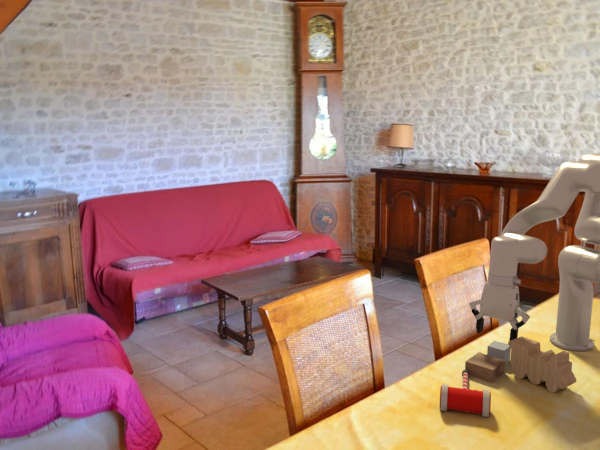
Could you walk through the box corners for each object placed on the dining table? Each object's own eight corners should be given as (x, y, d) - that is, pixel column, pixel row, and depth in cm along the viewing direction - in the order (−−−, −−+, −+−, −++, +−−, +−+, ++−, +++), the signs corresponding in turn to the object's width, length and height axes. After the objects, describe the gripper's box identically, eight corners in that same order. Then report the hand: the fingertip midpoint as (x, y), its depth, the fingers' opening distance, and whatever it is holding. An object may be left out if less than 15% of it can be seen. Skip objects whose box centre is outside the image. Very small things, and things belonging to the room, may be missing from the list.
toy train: (563, 397, 139) (567, 361, 137) (506, 372, 153) (508, 339, 151) (575, 391, 142) (578, 356, 140) (517, 367, 156) (520, 334, 154)
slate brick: (493, 356, 163) (494, 340, 162) (509, 360, 160) (510, 344, 159) (486, 361, 160) (487, 346, 159) (503, 366, 156) (504, 350, 155)
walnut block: (477, 365, 158) (478, 352, 157) (504, 373, 153) (505, 360, 152) (464, 374, 152) (465, 361, 152) (492, 383, 147) (493, 370, 146)
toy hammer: (443, 373, 153) (444, 352, 152) (487, 379, 150) (488, 357, 149) (439, 415, 132) (440, 391, 131) (489, 422, 129) (491, 397, 127)
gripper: (537, 283, 152) (530, 341, 155) (477, 271, 163) (472, 325, 166) (528, 289, 146) (521, 348, 149) (467, 276, 158) (462, 331, 161)
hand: (495, 336), depth 158 cm, fingers open, 9 cm apart
